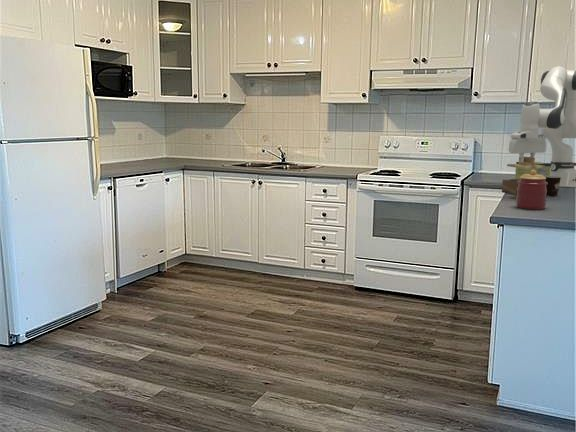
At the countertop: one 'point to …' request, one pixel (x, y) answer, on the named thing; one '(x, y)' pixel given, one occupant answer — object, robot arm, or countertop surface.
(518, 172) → the protein box
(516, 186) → the open wooden box
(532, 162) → the lid
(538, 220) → the countertop surface
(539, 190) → the canister
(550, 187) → the coffee mug
